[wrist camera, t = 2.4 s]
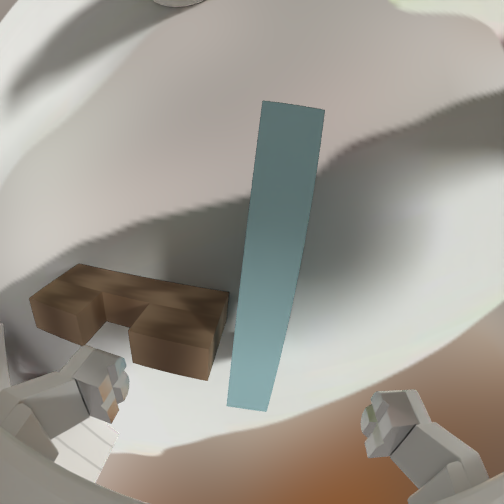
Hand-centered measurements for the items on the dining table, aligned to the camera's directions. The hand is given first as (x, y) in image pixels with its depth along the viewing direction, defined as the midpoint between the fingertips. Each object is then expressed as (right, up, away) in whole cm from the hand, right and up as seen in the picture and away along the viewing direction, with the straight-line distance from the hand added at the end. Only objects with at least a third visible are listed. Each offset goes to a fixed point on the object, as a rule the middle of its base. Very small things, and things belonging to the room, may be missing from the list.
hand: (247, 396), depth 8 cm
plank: (+2, +5, +15) cm, 16 cm away
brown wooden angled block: (-10, +1, +18) cm, 20 cm away
